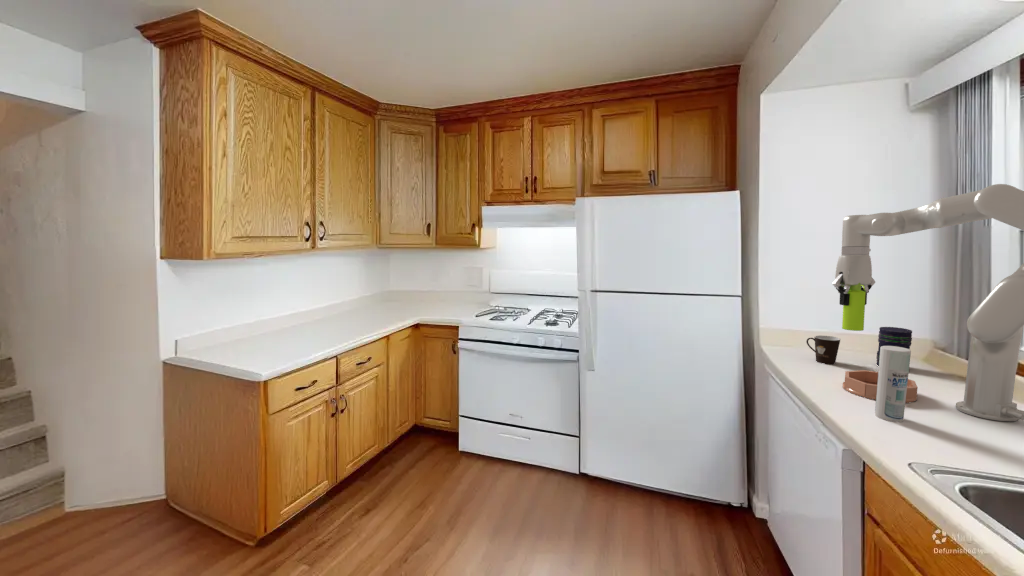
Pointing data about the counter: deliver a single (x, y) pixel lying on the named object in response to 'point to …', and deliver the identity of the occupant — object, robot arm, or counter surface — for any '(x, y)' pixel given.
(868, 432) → the counter surface
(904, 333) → the storage jar
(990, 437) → the counter surface
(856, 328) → the soap dispenser
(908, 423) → the counter surface
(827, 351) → the coffee mug
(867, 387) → the bowl
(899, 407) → the spray can
